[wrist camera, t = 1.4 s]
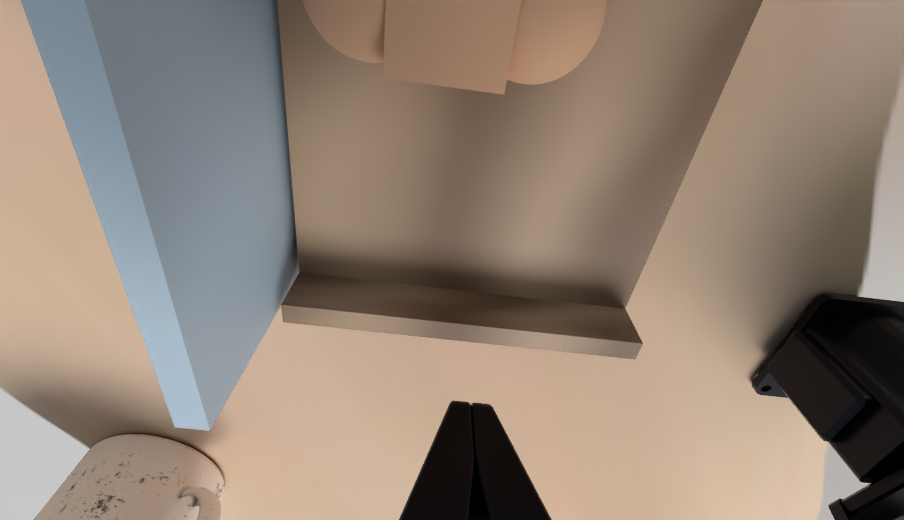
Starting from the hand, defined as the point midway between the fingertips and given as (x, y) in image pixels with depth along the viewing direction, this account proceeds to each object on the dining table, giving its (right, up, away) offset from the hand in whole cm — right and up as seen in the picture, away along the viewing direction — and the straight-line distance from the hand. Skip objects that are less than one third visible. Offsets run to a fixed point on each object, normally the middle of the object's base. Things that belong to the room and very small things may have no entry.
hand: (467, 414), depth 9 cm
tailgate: (-7, +9, +5) cm, 12 cm away
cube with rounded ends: (0, +10, +3) cm, 11 cm away
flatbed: (+1, +9, +7) cm, 11 cm away
